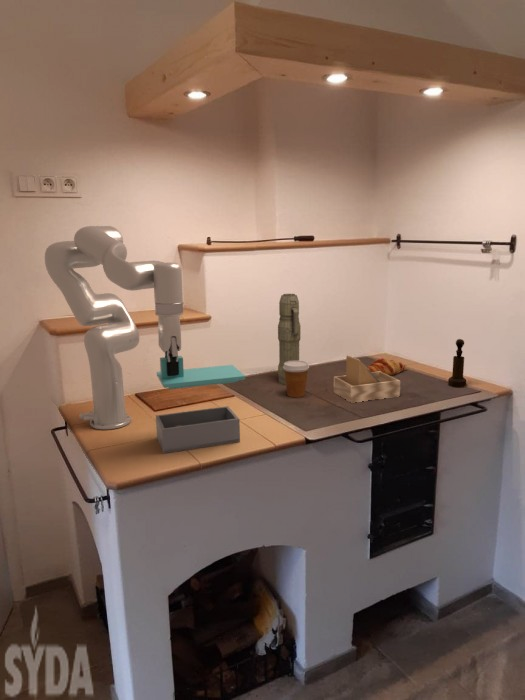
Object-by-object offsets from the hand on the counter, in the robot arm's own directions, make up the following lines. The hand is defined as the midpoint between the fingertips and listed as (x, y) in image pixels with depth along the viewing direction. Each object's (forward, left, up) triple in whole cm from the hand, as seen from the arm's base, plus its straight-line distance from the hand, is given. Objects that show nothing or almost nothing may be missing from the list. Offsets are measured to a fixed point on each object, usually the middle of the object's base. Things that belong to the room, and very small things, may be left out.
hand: (172, 373), depth 148 cm
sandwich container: (+75, +18, -21) cm, 80 cm away
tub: (+6, 0, -21) cm, 22 cm away
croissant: (+96, +40, -21) cm, 106 cm away
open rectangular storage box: (+73, +19, -21) cm, 79 cm away
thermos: (+53, +44, -21) cm, 72 cm away
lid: (+8, 0, -3) cm, 9 cm away
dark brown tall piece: (+111, +16, -21) cm, 114 cm away
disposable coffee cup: (+49, +28, -21) cm, 60 cm away
